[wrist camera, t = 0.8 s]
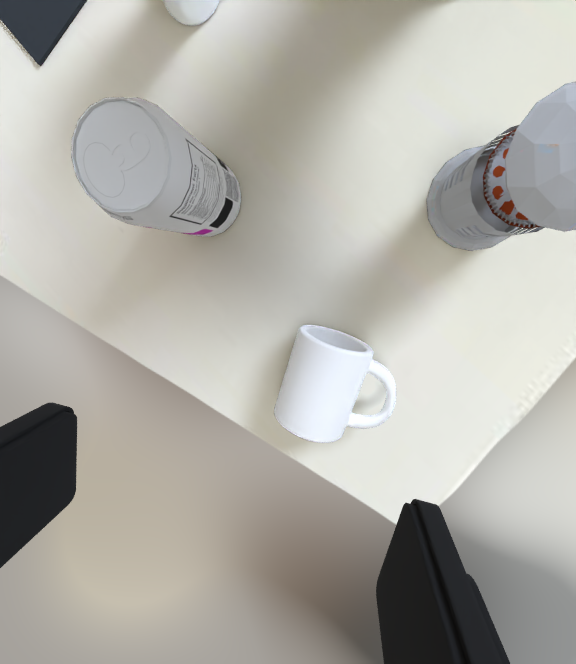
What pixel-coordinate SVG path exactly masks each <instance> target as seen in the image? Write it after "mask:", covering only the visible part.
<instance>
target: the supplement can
mask: <svg viewBox="0 0 576 664" xmlns="http://www.w3.org/2000/svg"><path fill="white" fill-rule="evenodd" d="M71 158H72V162H73V166H74V170H75V174H76V177H77V179H78V181H79V182H80V184H81V186H82V187H83V189H84V191H85V192H86V194H87V195H88V196H89V197H91V198H92V199H93V200H94V201H95V202H96V203H97V204H98V205H99V206H100V207H101V208H102V209H103V210H104V211H105V212H107V213H108V214H109V215H110V216H111V217H113V218H115V219H118V220H120V221H123V222H125V223H127V224H131V225H137V226H143V227H149V228H155V229H161V230H167V231H172V232H178V233H184V234H190V235H196V236H214V235H217V234H219V233H222V232H224V231H225V230H226V229H227V228H228V227H229V226H231V225H232V224H233V222H234V220H235V218H236V217H237V215H238V213H239V209H240V203H241V193H240V187H239V183H238V181H237V179H236V177H235V175H234V173H233V171H232V170H231V169H230V168H229V167H228V166H227V165H226V164H224V163H223V162H222V161H221V160H220V159H219V158H218V157H217V156H215V155H214V154H213V153H212V152H211V151H210V150H208V149H207V148H206V147H205V146H204V145H203V144H202V143H200V142H199V141H198V140H197V139H196V138H195V137H193V136H192V135H191V134H190V133H189V132H188V131H186V130H185V129H184V128H183V127H182V126H181V125H180V124H178V123H177V122H176V121H175V120H174V119H173V118H171V117H170V116H169V115H168V114H167V113H166V112H165V111H163V110H162V109H161V108H160V107H159V106H158V105H156V104H153V103H150V102H148V101H145V100H143V99H140V98H124V97H111V98H104V99H102V100H100V101H98V102H96V103H94V104H92V105H90V106H89V107H88V109H87V110H86V111H85V112H84V113H83V115H82V116H81V117H80V118H79V120H78V122H77V125H76V128H75V131H74V133H73V136H72V153H71Z"/></svg>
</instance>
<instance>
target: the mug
mask: <svg viewBox="0 0 576 664" xmlns="http://www.w3.org/2000/svg"><path fill="white" fill-rule="evenodd" d="M373 353H374V352H373V349H372V348H371V347H370V346H369V345H368V344H366V343H365V342H363V341H361V340H359V339H357V338H355V337H353V336H351V335H349V334H346V333H343V332H341V331H338V330H334V329H331V328H327V327H323V326H317V325H303V326H301V327H300V328H299V330H298V333H297V337H296V340H295V343H294V346H293V350H292V353H291V356H290V359H289V363H288V366H287V369H286V372H285V376H284V379H283V382H282V385H281V389H280V392H279V395H278V398H277V402H276V405H275V408H274V414H275V417H276V419H277V420H278V422H279V423H280V424H281V425H282V426H283V427H284V428H285V429H286V430H288V431H289V432H291V433H292V434H294V435H296V436H298V437H300V438H303V439H305V440H309V441H312V442H318V443H330V442H334V441H337V440H338V439H340V438H341V437H342V435H343V433H344V430H345V428H346V427H347V426H349V427H354V428H362V429H367V428H373V427H377V426H379V425H381V424H382V423H384V422H385V421H386V420H387V419H388V418H389V417H390V415H391V414H392V412H393V409H394V406H395V402H396V385H395V381H394V379H393V376H392V375H391V373H390V372H389V370H388V369H387V368H386V367H385V366H383V365H382V364H380V363H379V362H377V361H375V360H373V359H372V357H373ZM367 373H369V374H371V375H373V376H374V377H376V378H377V379H379V380H380V381H381V382H382V383H383V385H384V386H385V388H386V400H385V403H384V406H383V408H382V409H381V411H380V412H378V413H377V414H375V415H359V414H355V413H352V409H353V407H354V404H355V401H356V399H357V396H358V393H359V391H360V388H361V385H362V383H363V380H364V378H365V375H366V374H367Z"/></svg>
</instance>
